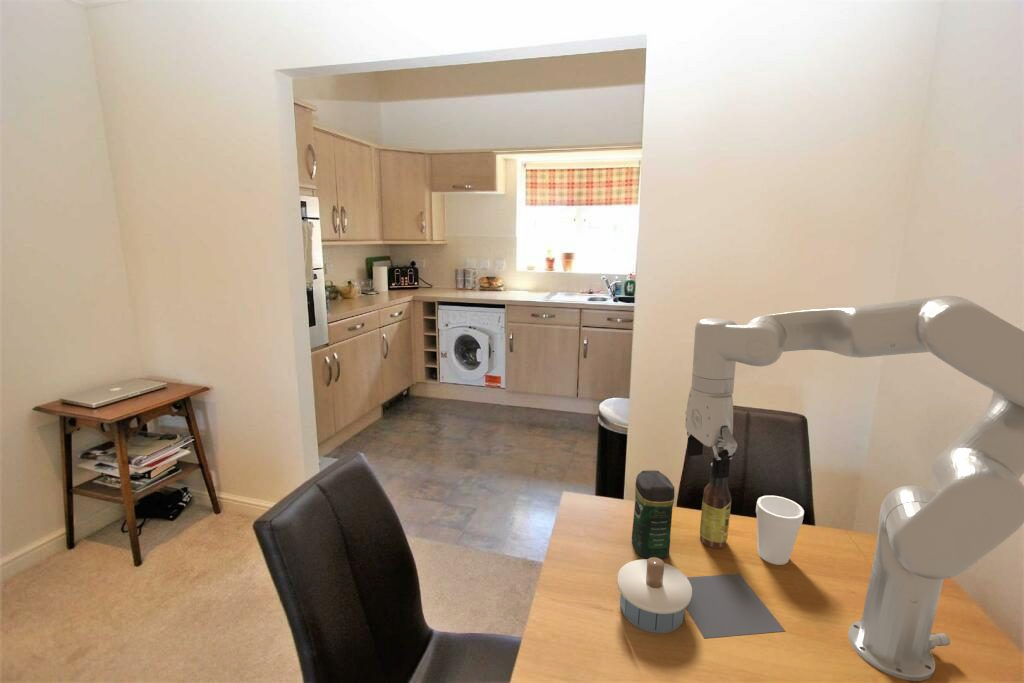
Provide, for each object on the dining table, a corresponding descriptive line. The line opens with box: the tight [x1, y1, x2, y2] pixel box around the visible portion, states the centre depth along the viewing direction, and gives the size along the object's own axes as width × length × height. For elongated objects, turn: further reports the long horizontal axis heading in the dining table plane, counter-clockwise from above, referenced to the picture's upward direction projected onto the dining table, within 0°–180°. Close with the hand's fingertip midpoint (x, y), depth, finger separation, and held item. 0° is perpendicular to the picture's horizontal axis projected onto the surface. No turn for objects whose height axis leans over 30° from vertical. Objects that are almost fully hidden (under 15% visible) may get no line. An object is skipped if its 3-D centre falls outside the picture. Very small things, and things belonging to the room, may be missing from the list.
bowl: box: [619, 593, 685, 634], centre depth 101 cm, size 12×12×6 cm
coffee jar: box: [631, 469, 675, 560], centre depth 118 cm, size 10×8×19 cm
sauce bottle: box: [699, 462, 732, 549], centre depth 121 cm, size 6×6×20 cm
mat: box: [685, 573, 786, 639], centre depth 103 cm, size 16×16×1 cm
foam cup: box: [755, 495, 805, 566], centre depth 116 cm, size 10×9×13 cm
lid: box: [616, 557, 692, 614], centre depth 99 cm, size 14×14×6 cm
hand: (706, 465), depth 102 cm, fingers open, 9 cm apart
